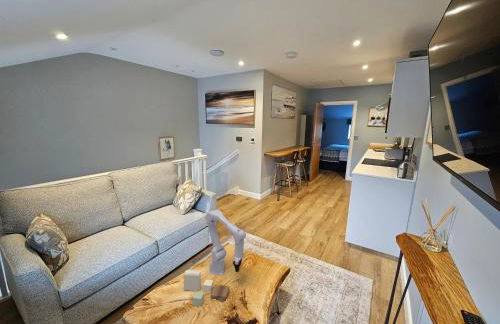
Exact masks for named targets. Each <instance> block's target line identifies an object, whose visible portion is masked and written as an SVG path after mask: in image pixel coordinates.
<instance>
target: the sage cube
mask: <svg viewBox="0 0 500 324" xmlns="http://www.w3.org/2000/svg"><path fill="white" fill-rule="evenodd" d="M191 300H192V302H191V304H192V306H193V307H199V306H201V307H202V305H203V303H202V302H204V301H205V292H203V291H195V292H194V294H193V297H192V299H191ZM203 300H204V301H203Z"/></svg>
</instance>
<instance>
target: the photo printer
mask: <svg viewBox="0 0 500 324" xmlns="http://www.w3.org/2000/svg"><path fill="white" fill-rule="evenodd" d="M201 273H202V271H200V270H198V269H186V270H185V271H184V277H183V289H184V291H192V292H193V291H195V292H196V291H197V292H200V290H201V287H202V286H201V285H202V284H201V283H202V281H201V280H202V279H201V277H202V274H201Z"/></svg>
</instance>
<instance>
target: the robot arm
mask: <svg viewBox="0 0 500 324" xmlns="http://www.w3.org/2000/svg"><path fill="white" fill-rule="evenodd" d="M205 219H206V222H207V227H208V231H209V235H210V239H211V243H212V247H213V248H212V249H211V252H210V253H211V259H210V262H209V274H210V275H218V276H223V275H224V272H225V270H226V267H225V265H224V264H225V257H226V256H227V250H226V249H225V246H224V245H222V244H221V240H220V236H219V232H218V229H217V225H216V224H217V222H218V221H219V222H220V223H221V224H223V226H225V227H226V230H227V231H228V232H229V233H230V234H231V235H232V236H233V239H234V255H233V257H234V260H232V265H233V266H234V271H235V272H234V273H239V272H240V268H241V265H242V264H243V263H242V262H243V258H245V257H246V256H245V254H244V247H245V245H244V244H245V243H244V242H245V238H246V237H247V233H246V232H245V230H244V229H241V228H239V227H238V226H237V225H236V224H235V223H233V222H232V223H231V222H230V221H229V220H228V219H227V217H225V216H224V214H223V212H222V211H221V210H220V209H218V208H217V209H215V210H212V211H208V212H207V213H206V215H205Z"/></svg>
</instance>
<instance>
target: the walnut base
mask: <svg viewBox="0 0 500 324" xmlns="http://www.w3.org/2000/svg"><path fill="white" fill-rule="evenodd" d="M230 290H231V289H230V285H221V284H215V285H214V286H213V289H212V291H211V293H210V300H211V299H216V300H222V301H221V302H223V301H226V299H228V297H227V296H228V295H229V294H228V293H230ZM216 300H215V301H216Z"/></svg>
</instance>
